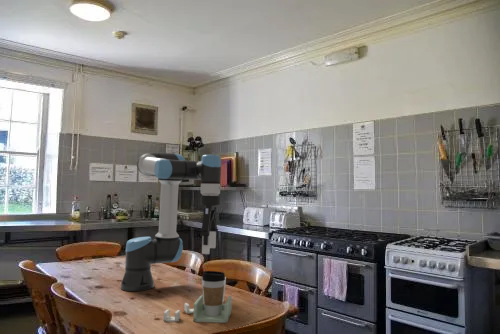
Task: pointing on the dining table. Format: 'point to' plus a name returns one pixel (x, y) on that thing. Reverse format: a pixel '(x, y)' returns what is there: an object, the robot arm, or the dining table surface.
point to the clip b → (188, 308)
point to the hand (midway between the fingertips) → (209, 250)
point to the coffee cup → (213, 292)
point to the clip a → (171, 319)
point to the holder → (201, 317)
